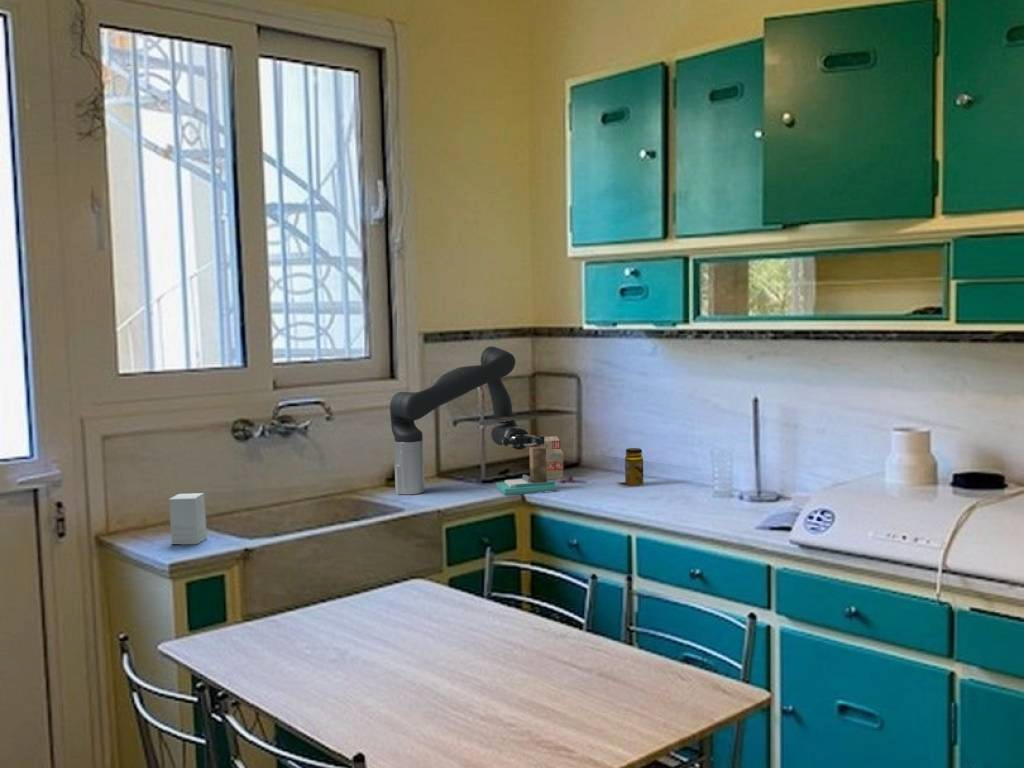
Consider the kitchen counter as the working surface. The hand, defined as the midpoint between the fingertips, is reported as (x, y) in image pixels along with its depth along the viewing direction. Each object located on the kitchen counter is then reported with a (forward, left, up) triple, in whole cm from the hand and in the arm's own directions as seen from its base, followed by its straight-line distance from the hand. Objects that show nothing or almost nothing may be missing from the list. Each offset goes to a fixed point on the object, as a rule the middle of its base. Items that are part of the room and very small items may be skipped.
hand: (528, 442), depth 343 cm
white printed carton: (+12, +15, -14) cm, 24 cm away
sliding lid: (-7, -12, -12) cm, 18 cm away
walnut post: (0, -12, -13) cm, 17 cm away
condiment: (+31, -16, -14) cm, 38 cm away
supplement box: (-108, -47, -14) cm, 118 cm away
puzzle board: (-4, -12, -14) cm, 19 cm away
